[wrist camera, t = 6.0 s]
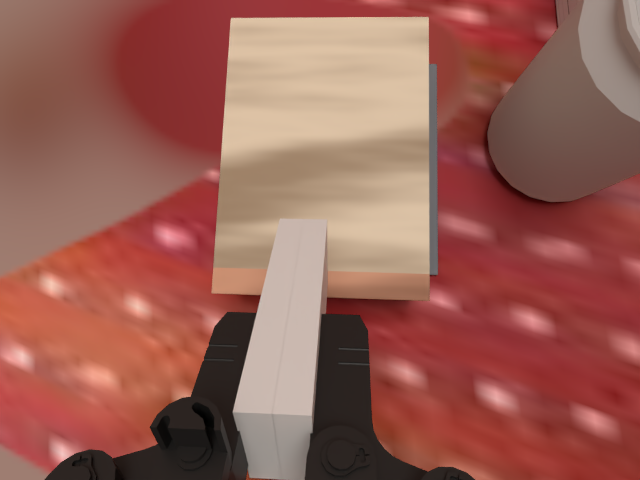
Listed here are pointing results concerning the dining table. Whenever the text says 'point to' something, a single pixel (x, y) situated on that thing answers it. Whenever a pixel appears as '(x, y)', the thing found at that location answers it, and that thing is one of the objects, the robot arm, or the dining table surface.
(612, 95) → the can
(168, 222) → the dining table surface
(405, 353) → the dining table surface
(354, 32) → the birch block
